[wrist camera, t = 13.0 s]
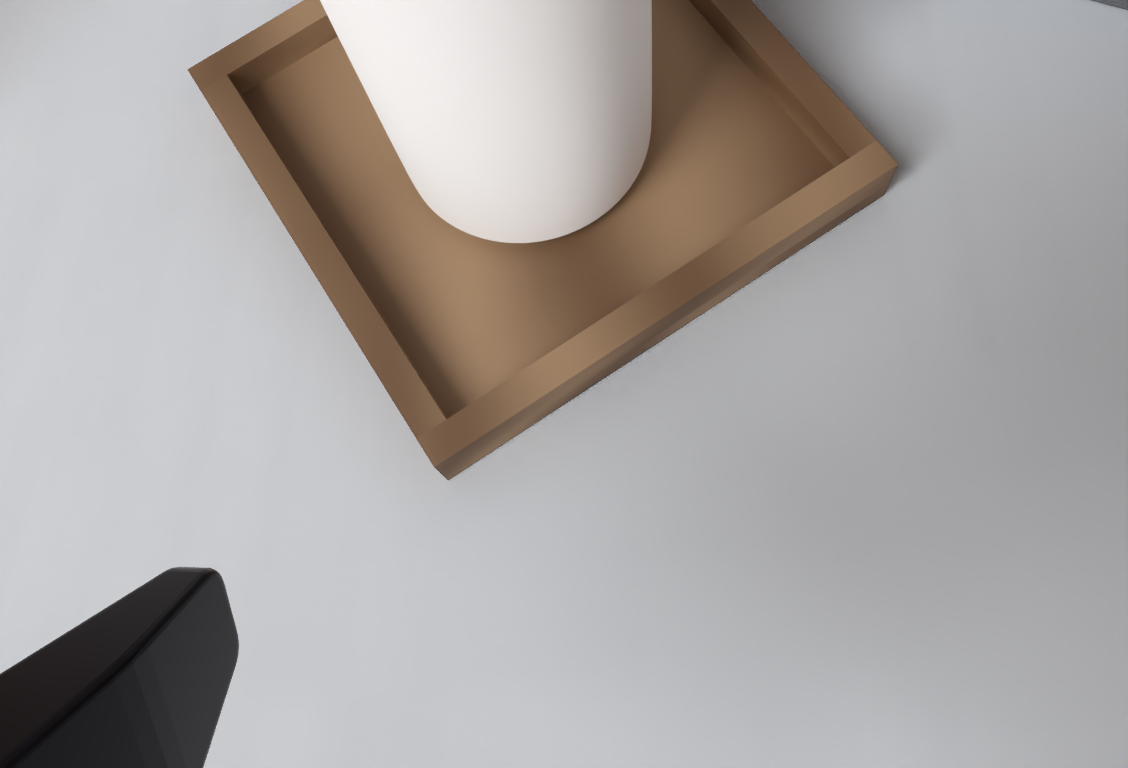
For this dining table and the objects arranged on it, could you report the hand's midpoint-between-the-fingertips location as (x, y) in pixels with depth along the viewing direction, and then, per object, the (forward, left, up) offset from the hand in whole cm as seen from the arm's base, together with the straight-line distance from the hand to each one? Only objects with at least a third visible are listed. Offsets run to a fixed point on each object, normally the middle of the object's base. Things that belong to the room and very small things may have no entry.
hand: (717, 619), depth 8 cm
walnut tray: (+4, +13, -14) cm, 19 cm away
